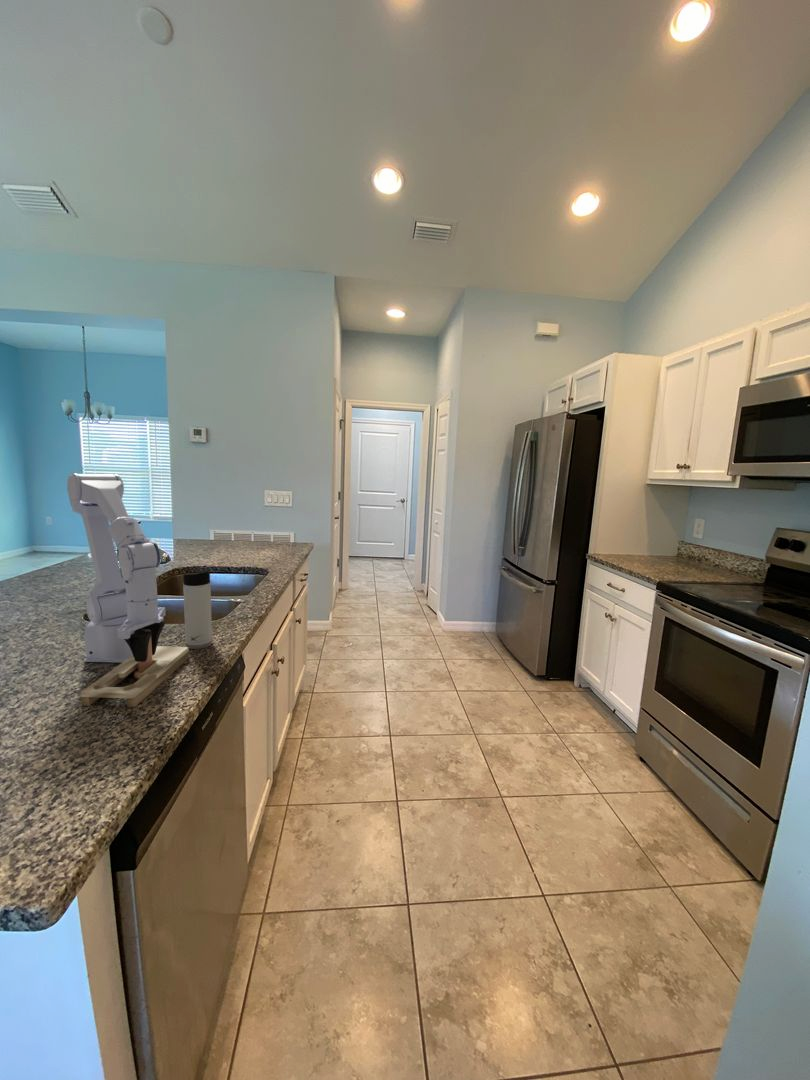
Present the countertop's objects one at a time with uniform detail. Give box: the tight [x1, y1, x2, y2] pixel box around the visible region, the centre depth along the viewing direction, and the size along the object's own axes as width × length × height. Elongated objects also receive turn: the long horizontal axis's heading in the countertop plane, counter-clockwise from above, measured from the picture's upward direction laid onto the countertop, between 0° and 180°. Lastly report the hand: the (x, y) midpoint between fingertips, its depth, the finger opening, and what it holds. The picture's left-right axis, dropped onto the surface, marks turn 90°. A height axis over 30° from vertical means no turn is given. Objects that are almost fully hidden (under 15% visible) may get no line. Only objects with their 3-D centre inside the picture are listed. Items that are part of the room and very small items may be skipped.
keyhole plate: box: [80, 645, 190, 708], centre depth 94 cm, size 10×22×3 cm, turn 1°
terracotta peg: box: [133, 629, 153, 680], centre depth 95 cm, size 4×4×10 cm
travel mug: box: [182, 570, 213, 650], centre depth 111 cm, size 6×7×20 cm
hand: (145, 657), depth 95 cm, fingers closed on terracotta peg, 3 cm apart
